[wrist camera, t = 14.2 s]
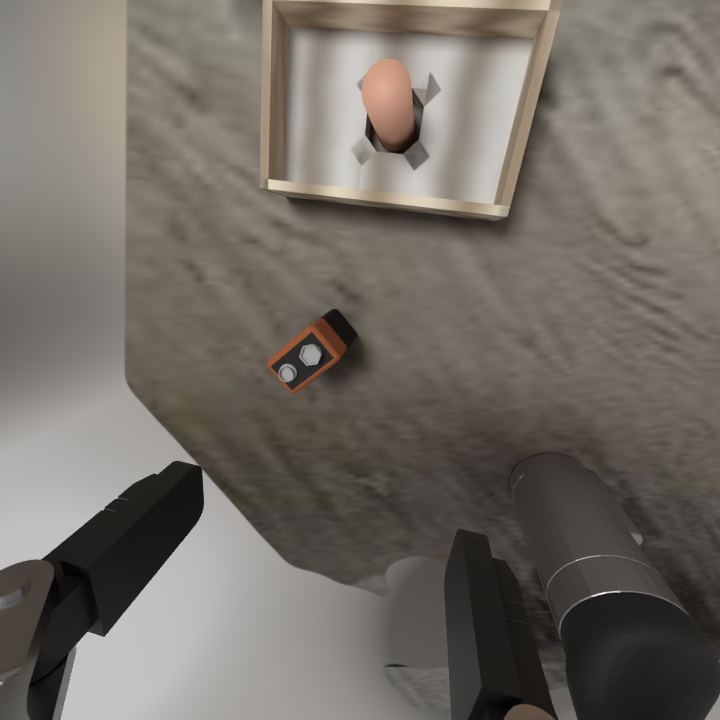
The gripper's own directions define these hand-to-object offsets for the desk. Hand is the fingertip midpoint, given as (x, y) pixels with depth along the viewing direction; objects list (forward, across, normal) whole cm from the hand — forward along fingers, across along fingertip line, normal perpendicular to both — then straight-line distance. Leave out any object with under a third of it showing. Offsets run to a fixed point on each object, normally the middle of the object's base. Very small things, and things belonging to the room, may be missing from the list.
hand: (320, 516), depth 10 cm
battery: (+30, +8, +4) cm, 32 cm away
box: (+30, +3, -18) cm, 35 cm away
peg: (+30, +3, -18) cm, 35 cm away
